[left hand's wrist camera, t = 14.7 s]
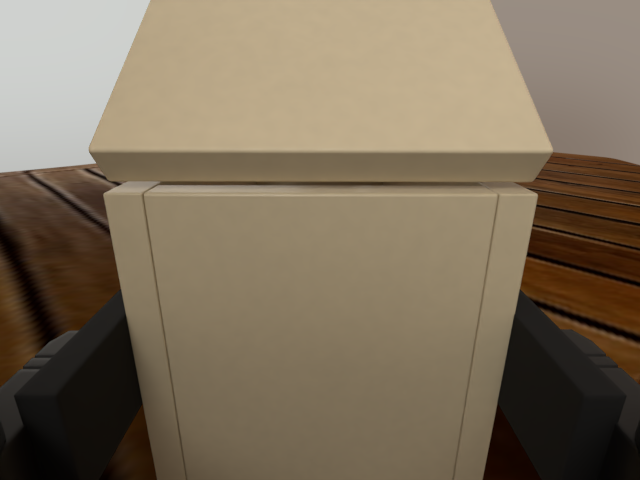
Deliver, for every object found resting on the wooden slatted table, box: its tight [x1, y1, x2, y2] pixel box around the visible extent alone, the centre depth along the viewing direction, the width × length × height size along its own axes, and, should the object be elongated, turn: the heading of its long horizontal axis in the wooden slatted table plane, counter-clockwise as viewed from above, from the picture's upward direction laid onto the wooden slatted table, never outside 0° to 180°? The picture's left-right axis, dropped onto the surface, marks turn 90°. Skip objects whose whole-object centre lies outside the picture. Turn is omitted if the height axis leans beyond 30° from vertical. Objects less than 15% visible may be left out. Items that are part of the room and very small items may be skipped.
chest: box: [103, 181, 538, 480], centre depth 19 cm, size 17×10×11 cm, turn 0°
